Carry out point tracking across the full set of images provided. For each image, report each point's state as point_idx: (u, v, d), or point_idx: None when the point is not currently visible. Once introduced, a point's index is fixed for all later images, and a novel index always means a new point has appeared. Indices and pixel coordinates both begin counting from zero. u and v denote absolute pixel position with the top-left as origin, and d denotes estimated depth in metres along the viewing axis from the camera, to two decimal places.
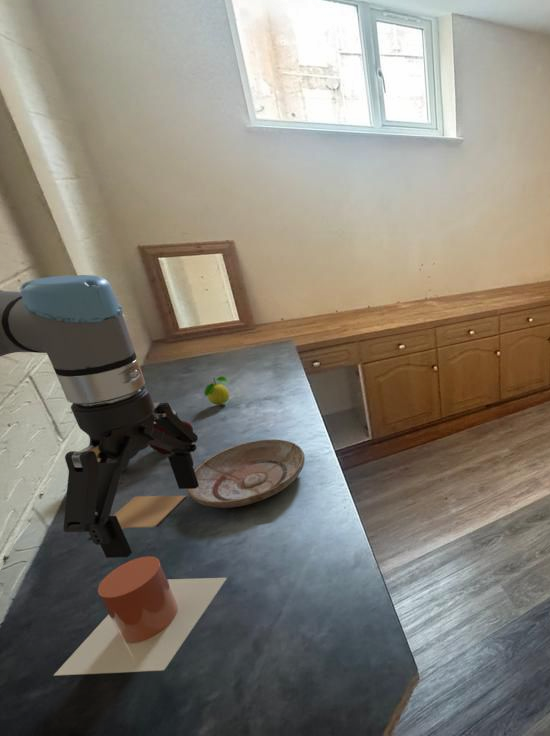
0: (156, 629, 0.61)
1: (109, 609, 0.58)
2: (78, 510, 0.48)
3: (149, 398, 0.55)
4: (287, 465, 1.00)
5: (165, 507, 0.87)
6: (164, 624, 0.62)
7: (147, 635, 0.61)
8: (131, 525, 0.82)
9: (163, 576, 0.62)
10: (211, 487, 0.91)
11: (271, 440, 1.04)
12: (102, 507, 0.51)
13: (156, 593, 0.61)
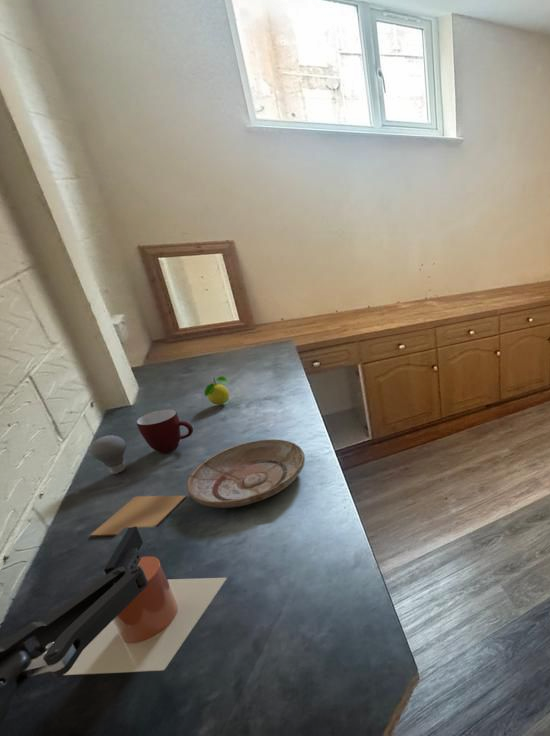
0: (156, 629, 0.61)
1: None
2: None
3: None
4: (287, 465, 1.00)
5: (165, 507, 0.87)
6: (164, 624, 0.62)
7: (147, 635, 0.61)
8: (131, 525, 0.82)
9: (163, 576, 0.62)
10: (211, 487, 0.91)
11: (271, 440, 1.04)
12: None
13: (156, 593, 0.61)
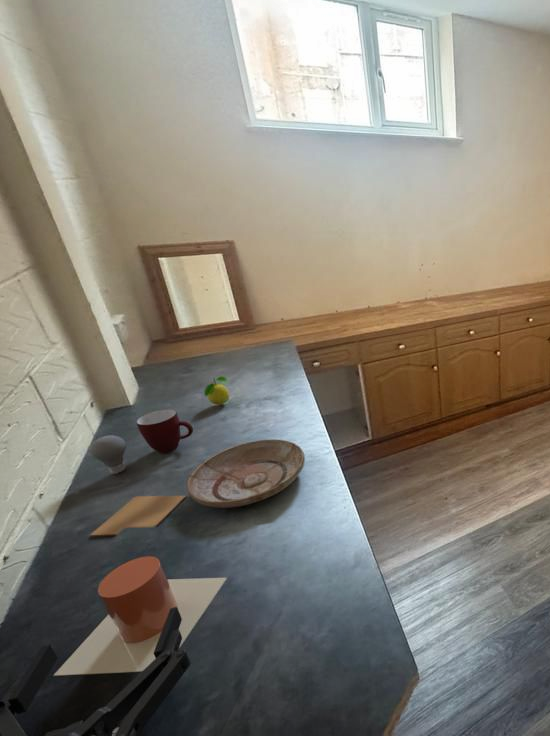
0: (156, 629, 0.61)
1: (109, 609, 0.58)
2: None
3: None
4: (287, 465, 1.00)
5: (165, 507, 0.87)
6: None
7: (147, 635, 0.61)
8: (131, 525, 0.82)
9: (163, 576, 0.62)
10: (211, 487, 0.91)
11: (271, 440, 1.04)
12: None
13: (156, 593, 0.61)
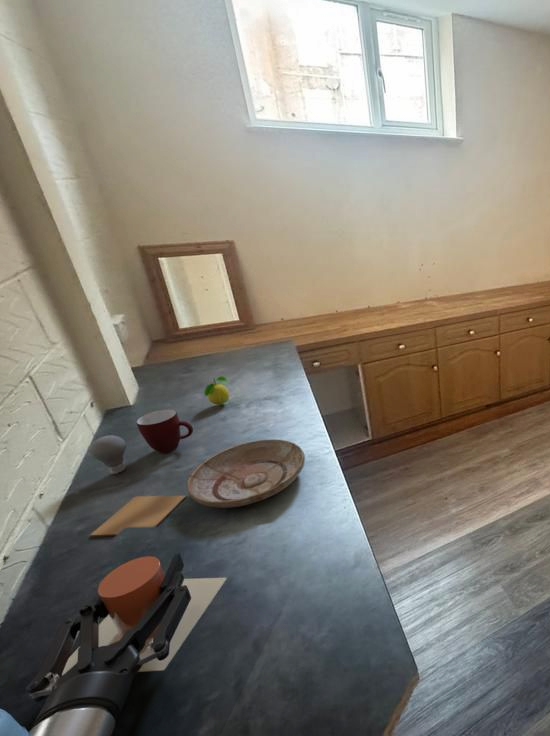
0: (156, 629, 0.61)
1: (109, 609, 0.58)
2: None
3: None
4: (287, 465, 1.00)
5: (165, 507, 0.87)
6: None
7: None
8: (131, 525, 0.82)
9: (163, 576, 0.62)
10: (211, 487, 0.91)
11: (271, 440, 1.04)
12: None
13: (156, 593, 0.61)
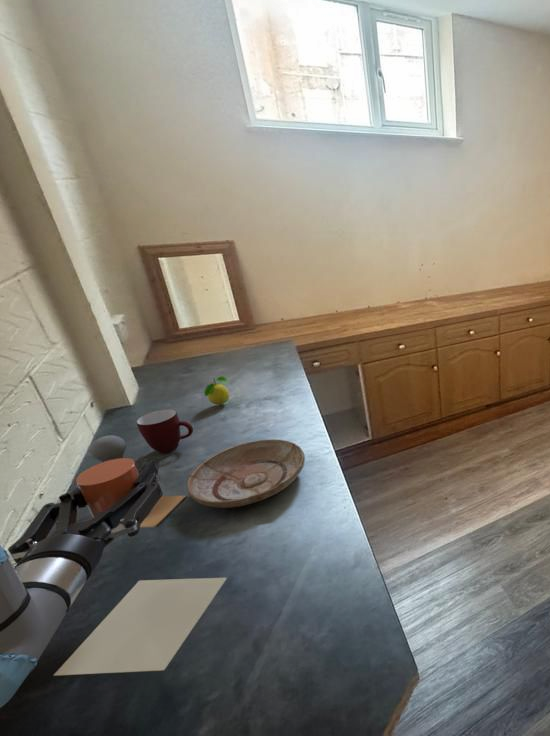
0: None
1: (86, 497, 0.64)
2: None
3: None
4: (287, 465, 1.00)
5: (165, 507, 0.87)
6: None
7: None
8: None
9: (137, 474, 0.68)
10: (211, 487, 0.91)
11: (271, 440, 1.04)
12: None
13: (130, 488, 0.67)
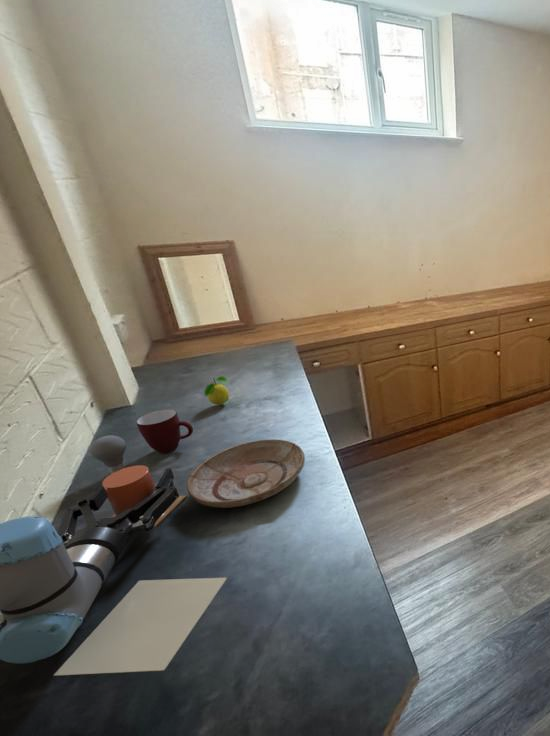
0: None
1: (110, 497, 0.79)
2: None
3: None
4: (287, 465, 1.00)
5: None
6: None
7: None
8: None
9: (150, 479, 0.83)
10: (211, 487, 0.91)
11: (271, 440, 1.04)
12: None
13: (145, 490, 0.82)
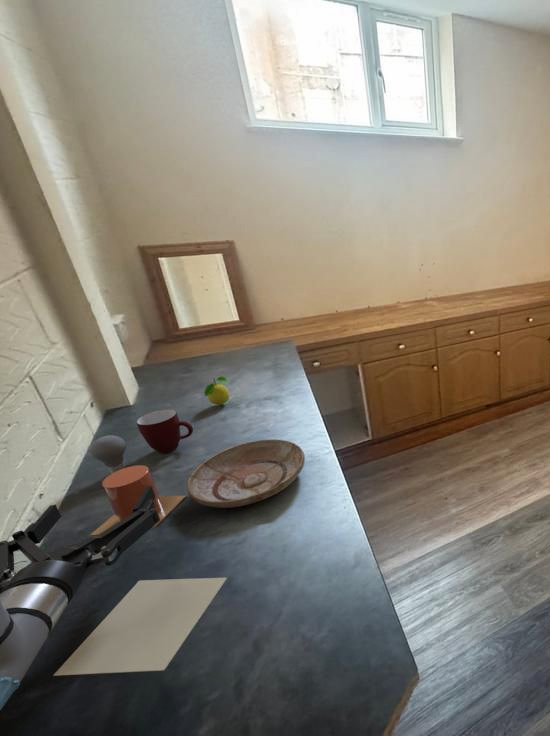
0: None
1: (110, 497, 0.79)
2: None
3: None
4: (287, 465, 1.00)
5: (165, 507, 0.87)
6: None
7: None
8: None
9: (150, 479, 0.83)
10: (211, 487, 0.91)
11: (271, 440, 1.04)
12: (23, 553, 0.64)
13: None
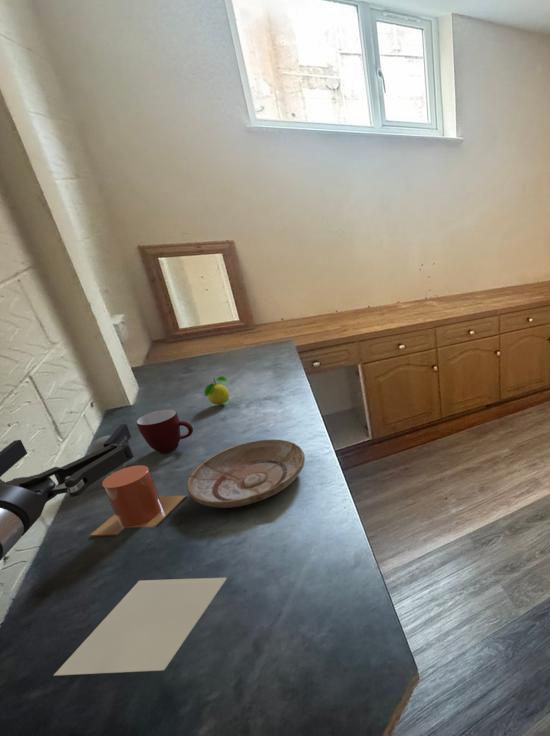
0: (145, 517, 0.82)
1: (110, 497, 0.79)
2: None
3: None
4: (287, 465, 1.00)
5: (165, 507, 0.87)
6: (151, 515, 0.83)
7: (138, 521, 0.82)
8: None
9: (150, 479, 0.83)
10: (211, 487, 0.91)
11: (271, 440, 1.04)
12: None
13: (145, 490, 0.82)
